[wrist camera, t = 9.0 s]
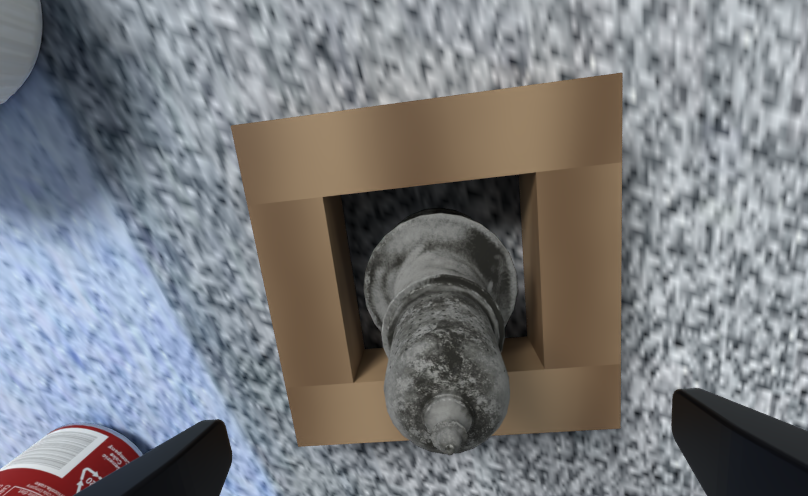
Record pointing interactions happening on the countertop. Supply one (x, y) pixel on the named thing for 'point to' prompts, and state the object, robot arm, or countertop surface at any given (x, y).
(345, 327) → the socket block
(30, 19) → the ramekin
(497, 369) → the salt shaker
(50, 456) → the soda can
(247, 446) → the countertop surface
